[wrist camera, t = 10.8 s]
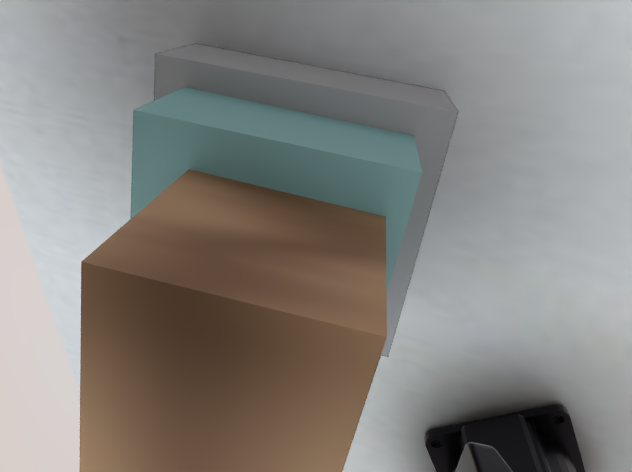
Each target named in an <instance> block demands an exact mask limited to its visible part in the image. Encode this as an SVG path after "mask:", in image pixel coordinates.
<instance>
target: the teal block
mask: <svg viewBox="0 0 632 472" xmlns="http://www.w3.org/2000/svg"><path fill="white" fill-rule="evenodd" d="M189 169H191V170H195V171H199V172H203V173H208V174H212V175H216V176H220V177H224V178H228V179H232V180H237V181H241V182H245V183H249V184H253V185H257V186H261V187H266V188H270V189H274V190H278V191H282V192H286V193H290V194H295V195H299V196H303V197H307V198H311V199H315V200H319V201H324V202H328V203H332V204H336V205H340V206H344V207H348V208H353V209H357V210H361V211H365V212H369V213H373V214H377V215H381V216H386V294H387V292H388V288H389V285H390V281H391V278H392V274H393V271H394V268H395V264H396V261H397V257H398V254H399V250H400V247H401V243H402V240H403V236H404V233H405V230H406V226H407V223H408V219H409V216H410V212H411V209H412V205H413V202H414V198H415V195H416V192H417V188H418V185H419V181H420V178H421V174H422V169H421V165H420V160H419V155H418V151H417V146H416V142H415V137H414V136H412V135H408V134H403V133H398V132H394V131H389V130H384V129H380V128H375V127H370V126H366V125H361V124H356V123H352V122H347V121H342V120H338V119H333V118H328V117H323V116H319V115H314V114H309V113H305V112H300V111H295V110H291V109H286V108H281V107H277V106H272V105H267V104H263V103H258V102H253V101H249V100H244V99H239V98H234V97H230V96H225V95H220V94H216V93H211V92H206V91H202V90H197V89H192V88H188V87H184V88H182V89H179V90H177V91H175V92H173V93H170V94H168V95H166V96H164V97H161V98H159V99H157V100H155V101H153V102H150V103H148V104H146V105H144V106H141V107H139V108H137V109H135V110H134V115H133V152H132V188H131V219H132V218H133V217H134V216H135V215H136V214H138V213H139V212H140V211H141V210H142V209H143V208H144V207H146V206H147V205H148V204H149V203H150V202H151V201H153V200H154V199H155V198H156V197H157V196H158V195H160V194H161V193H162V192H163V191H164V190H165V189H167V188H168V187H169V186H170V185H171V184H172V183H173V182H175V181H176V180H177V179H178V178H179V177H180V176H182V175H183V174H184V173H185V172H186V171H187V170H189Z"/></svg>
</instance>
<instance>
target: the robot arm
mask: <svg viewBox="0 0 632 472" xmlns="http://www.w3.org/2000/svg"><path fill="white" fill-rule="evenodd" d="M557 415H560V416H559V417H554V416H557ZM434 440H439V441H434ZM425 444H426V448H427V450H428V452H429V455H430V457H431V460H432V462H433V464H434V467H435V469H436V471H437V472H585V470H584V466H583V462H582V459H581V455H580V452H579V448H578V444H577V441H576V437H575V433H574V430H573V426H572V422H571V419H570V416H569V414H568V412H567V410H566V408H565V407H563V406H562V405H550V406H545V407H540V408H536V409H531V410H526V411H521V412H516V413H511V414H507V415H502V416H497V417H492V418H487V419H483V420H478V421H473V422H468V423H463V424H458V425H454V426H449V427H444V428H439V429H434V430H431V431H428V432H427V433H426V435H425Z"/></svg>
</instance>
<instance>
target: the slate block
mask: <svg viewBox="0 0 632 472" xmlns="http://www.w3.org/2000/svg"><path fill="white" fill-rule="evenodd" d="M184 87H188V88H192V89H197V90H202V91H206V92H211V93H216V94H220V95H225V96H230V97H234V98H239V99H244V100H249V101H253V102H258V103H263V104H267V105H272V106H277V107H281V108H286V109H291V110H295V111H300V112H305V113H309V114H314V115H319V116H323V117H328V118H333V119H338V120H342V121H347V122H352V123H356V124H361V125H366V126H370V127H375V128H380V129H384V130H389V131H394V132H398V133H403V134H408V135H412V136H414V137H415V142H416V146H417V151H418V155H419V160H420V165H421V169H422V174H421V178H420V181H419V185H418V188H417V192H416V195H415V198H414V202H413V205H412V209H411V212H410V216H409V219H408V223H407V226H406V230H405V233H404V236H403V240H402V243H401V247H400V250H399V254H398V257H397V261H396V264H395V268H394V271H393V274H392V278H391V281H390V285H389V288H388V292H387V338H386V341H385V344H384V347H383V350H382V353H381V356H386V357H388V356H389V352H390V349H391V345H392V342H393V338H394V335H395V331H396V328H397V324H398V321H399V317H400V314H401V310H402V307H403V303H404V300H405V296H406V293H407V289H408V286H409V282H410V279H411V275H412V272H413V268H414V265H415V261H416V258H417V254H418V251H419V247H420V244H421V240H422V237H423V233H424V230H425V226H426V223H427V219H428V216H429V212H430V209H431V205H432V202H433V198H434V195H435V191H436V188H437V184H438V181H439V177H440V174H441V171H442V167H443V164H444V160H445V157H446V153H447V150H448V146H449V143H450V139H451V136H452V132H453V129H454V125H455V122H456V118H457V115H458V110H457V109H456V107H455V106H454V104H453V103H452V101H451V100H450V98H449V97H448V95H447V94H446V92H445V91H442V90H437V89H432V88H426V87H421V86H416V85H410V84H405V83H400V82H395V81H389V80H384V79H379V78H374V77H368V76H363V75H358V74H353V73H347V72H342V71H337V70H331V69H326V68H321V67H316V66H310V65H305V64H300V63H295V62H289V61H284V60H279V59H274V58H268V57H263V56H258V55H252V54H247V53H242V52H237V51H231V50H226V49H221V48H216V47H210V46H205V45H200V44H192V45H188V46H184V47H180V48H176V49H172V50H168V51H164V52H160V53H156V54H155V81H154V101H155V100H157V99H159V98H161V97H164V96H166V95H168V94H170V93H173V92H175V91H177V90H179V89H182V88H184Z"/></svg>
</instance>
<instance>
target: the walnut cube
mask: <svg viewBox="0 0 632 472" xmlns="http://www.w3.org/2000/svg"><path fill="white" fill-rule="evenodd" d="M386 338H387V294H386V216H381V215H377V214H373V213H369V212H365V211H361V210H357V209H353V208H348V207H344V206H340V205H336V204H332V203H328V202H324V201H319V200H315V199H311V198H307V197H303V196H299V195H295V194H290V193H286V192H282V191H278V190H274V189H270V188H266V187H261V186H257V185H253V184H249V183H245V182H241V181H237V180H232V179H228V178H224V177H220V176H216V175H212V174H208V173H203V172H199V171H195V170H191V169H189V170H187V171H186V172H185V173H184V174H183V175H182V176H180V177H179V178H178V179H177V180H176V181H175V182H173V183H172V184H171V185H170V186H169V187H168V188H167V189H165V190H164V191H163V192H162V193H161V194H160V195H158V196H157V197H156V198H155V199H154V200H153V201H151V202H150V203H149V204H148V205H147V206H146V207H144V208H143V209H142V210H141V211H140V212H139V213H138V214H136V215H135V216H134V217H133V218H132V219H131V220H129V221H128V222H127V223H126V224H125V225H124V226H122V227H121V228H120V229H119V230H118V231H117V232H116V233H114V234H113V235H112V236H111V237H110V238H109V239H107V240H106V241H105V242H104V243H103V244H102V245H100V246H99V247H98V248H97V249H96V250H95V251H94V252H92V253H91V254H90V255H89V256H88V257H87V258H85V259H84V260H83V261H82V267H81V377H80V472H342V470H343V467H344V464H345V461H346V458H347V455H348V452H349V449H350V446H351V443H352V440H353V437H354V434H355V431H356V428H357V425H358V422H359V419H360V416H361V413H362V410H363V407H364V404H365V401H366V398H367V395H368V392H369V389H370V386H371V383H372V380H373V377H374V374H375V371H376V368H377V365H378V362H379V359H380V356H381V353H382V350H383V347H384V344H385V341H386Z"/></svg>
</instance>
